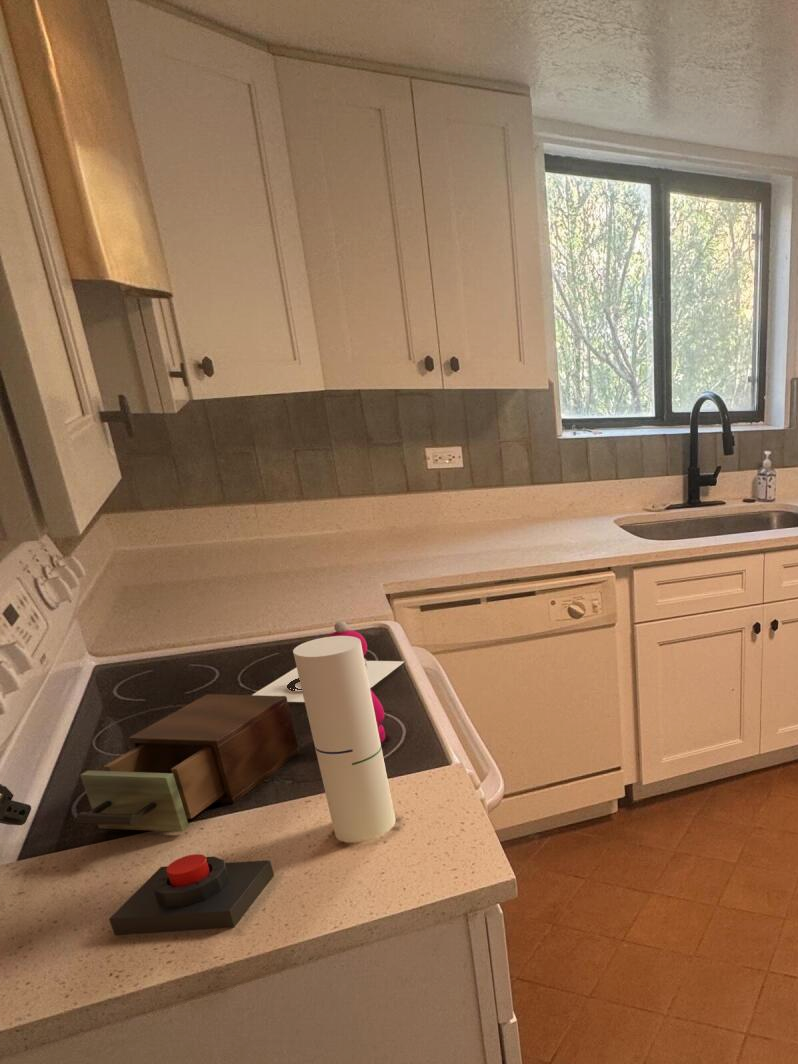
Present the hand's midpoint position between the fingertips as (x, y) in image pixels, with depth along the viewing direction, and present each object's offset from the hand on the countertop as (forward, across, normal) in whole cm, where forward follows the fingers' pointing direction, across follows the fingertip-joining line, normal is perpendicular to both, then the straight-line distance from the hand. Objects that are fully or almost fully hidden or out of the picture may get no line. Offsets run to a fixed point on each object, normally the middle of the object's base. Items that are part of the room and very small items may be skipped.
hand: (21, 815), depth 84 cm
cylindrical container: (+20, -27, -4) cm, 34 cm away
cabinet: (+27, 0, -12) cm, 30 cm away
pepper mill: (+36, -14, -20) cm, 43 cm away
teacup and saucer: (+52, +6, -37) cm, 64 cm away
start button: (+5, -17, +5) cm, 19 cm away
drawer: (+19, 0, -5) cm, 20 cm away
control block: (+8, -17, +8) cm, 20 cm away
